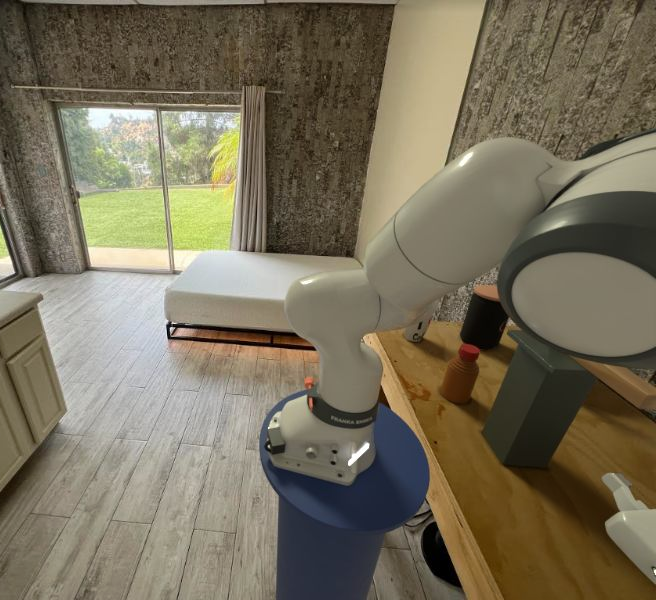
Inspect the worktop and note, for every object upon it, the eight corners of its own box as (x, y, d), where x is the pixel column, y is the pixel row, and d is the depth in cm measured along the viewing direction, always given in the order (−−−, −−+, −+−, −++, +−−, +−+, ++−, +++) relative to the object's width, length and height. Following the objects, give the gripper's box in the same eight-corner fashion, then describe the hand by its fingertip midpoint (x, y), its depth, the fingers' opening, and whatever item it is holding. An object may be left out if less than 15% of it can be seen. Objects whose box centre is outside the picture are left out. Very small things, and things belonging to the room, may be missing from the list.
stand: (500, 477, 61) (554, 369, 49) (469, 428, 71) (507, 329, 60) (568, 483, 60) (639, 373, 48) (526, 432, 70) (576, 332, 59)
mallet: (628, 408, 42) (647, 378, 40) (529, 331, 59) (539, 308, 57) (670, 411, 41) (692, 381, 39) (558, 332, 59) (569, 309, 57)
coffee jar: (499, 355, 96) (520, 302, 88) (458, 345, 101) (474, 294, 93) (496, 338, 104) (514, 288, 96) (458, 330, 109) (473, 282, 101)
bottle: (446, 403, 78) (461, 357, 73) (436, 385, 84) (449, 342, 78) (474, 404, 78) (491, 359, 72) (461, 387, 84) (476, 343, 78)
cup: (412, 346, 101) (419, 319, 96) (394, 334, 108) (399, 308, 103) (431, 341, 103) (439, 314, 99) (412, 329, 110) (418, 303, 106)
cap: (472, 351, 77) (474, 344, 76) (480, 361, 74) (483, 353, 73) (454, 350, 78) (457, 343, 77) (462, 360, 74) (465, 352, 73)
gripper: (673, 636, 31) (555, 489, 43) (861, 621, 32) (695, 482, 44) (726, 618, 28) (582, 463, 39) (934, 602, 29) (734, 456, 40)
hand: (643, 473), depth 41 cm, fingers open, 8 cm apart
